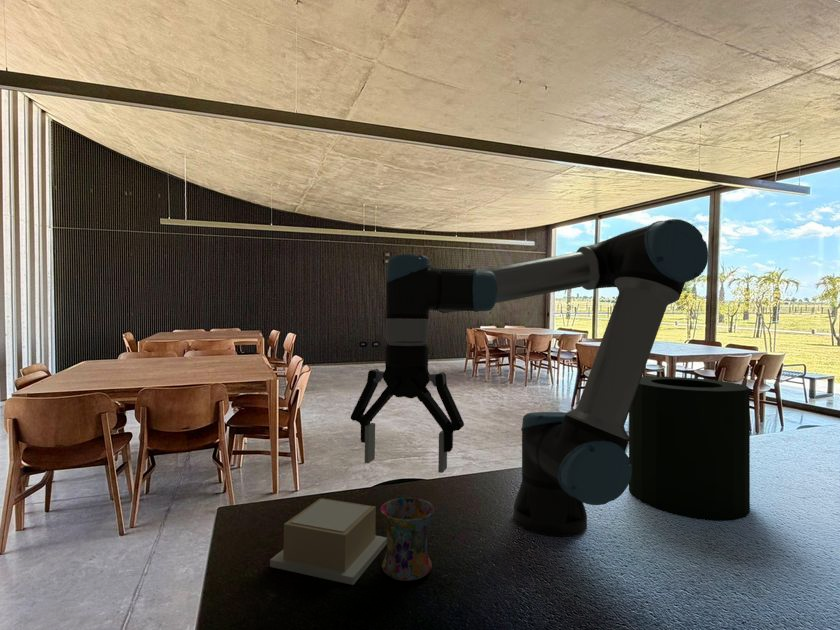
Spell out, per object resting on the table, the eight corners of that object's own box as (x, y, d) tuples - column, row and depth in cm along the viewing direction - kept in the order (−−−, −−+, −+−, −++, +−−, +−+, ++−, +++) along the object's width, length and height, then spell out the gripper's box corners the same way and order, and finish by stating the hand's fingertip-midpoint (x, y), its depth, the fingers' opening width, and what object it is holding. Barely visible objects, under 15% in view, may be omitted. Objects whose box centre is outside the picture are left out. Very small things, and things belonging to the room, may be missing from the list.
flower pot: (632, 509, 101) (632, 386, 102) (626, 474, 125) (626, 374, 125) (766, 529, 92) (766, 394, 92) (732, 487, 115) (732, 379, 115)
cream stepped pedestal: (387, 543, 85) (387, 505, 85) (353, 585, 71) (353, 539, 72) (314, 530, 90) (314, 494, 90) (270, 566, 77) (270, 523, 77)
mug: (439, 583, 72) (440, 517, 72) (383, 590, 70) (383, 522, 70) (423, 546, 84) (424, 490, 84) (374, 551, 82) (375, 493, 82)
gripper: (481, 345, 77) (480, 467, 77) (352, 341, 85) (351, 451, 85) (472, 347, 70) (470, 482, 70) (333, 342, 78) (331, 463, 78)
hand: (405, 465), depth 77 cm, fingers open, 13 cm apart
